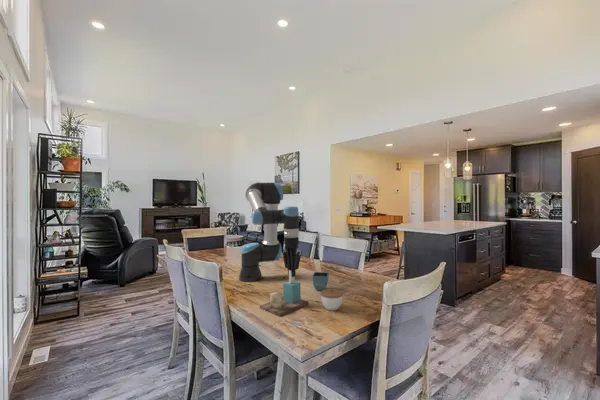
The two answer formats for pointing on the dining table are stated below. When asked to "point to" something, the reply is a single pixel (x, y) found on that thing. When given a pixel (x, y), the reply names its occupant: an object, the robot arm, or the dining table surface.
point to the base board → (284, 307)
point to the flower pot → (320, 280)
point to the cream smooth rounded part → (276, 300)
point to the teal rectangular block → (291, 292)
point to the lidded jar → (332, 298)
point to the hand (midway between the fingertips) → (291, 282)
